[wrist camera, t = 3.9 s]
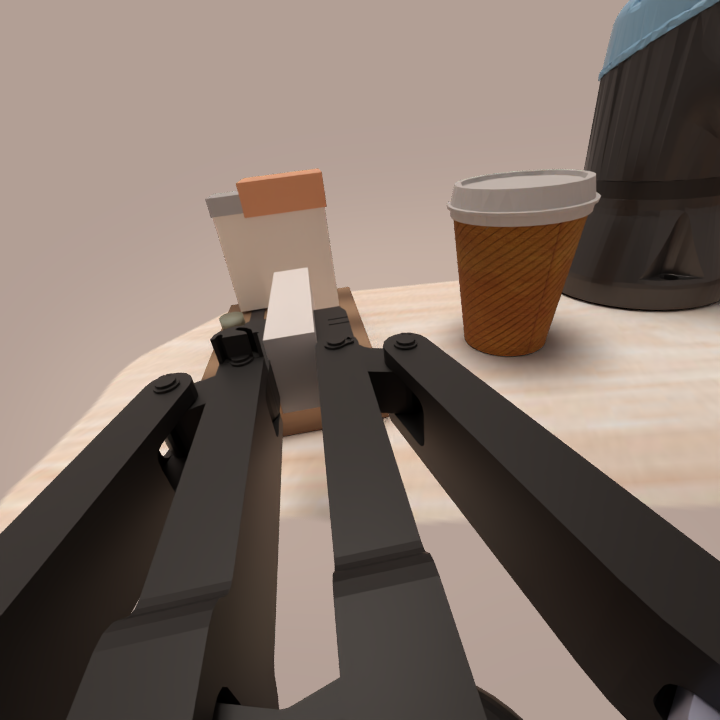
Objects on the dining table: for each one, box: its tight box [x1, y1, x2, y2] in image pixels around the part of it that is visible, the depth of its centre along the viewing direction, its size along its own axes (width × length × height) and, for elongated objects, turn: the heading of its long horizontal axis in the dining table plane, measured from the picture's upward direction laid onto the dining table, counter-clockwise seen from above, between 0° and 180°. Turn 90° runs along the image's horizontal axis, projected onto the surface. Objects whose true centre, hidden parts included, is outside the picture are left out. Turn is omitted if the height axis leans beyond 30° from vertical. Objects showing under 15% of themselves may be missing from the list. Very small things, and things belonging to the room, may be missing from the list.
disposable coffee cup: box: [447, 169, 601, 356], centre depth 27 cm, size 10×10×12 cm
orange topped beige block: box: [236, 168, 339, 310], centre depth 22 cm, size 3×4×11 cm
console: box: [201, 287, 389, 436], centre depth 30 cm, size 18×12×4 cm, turn 8°
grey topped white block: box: [205, 191, 269, 312], centre depth 33 cm, size 3×3×10 cm
